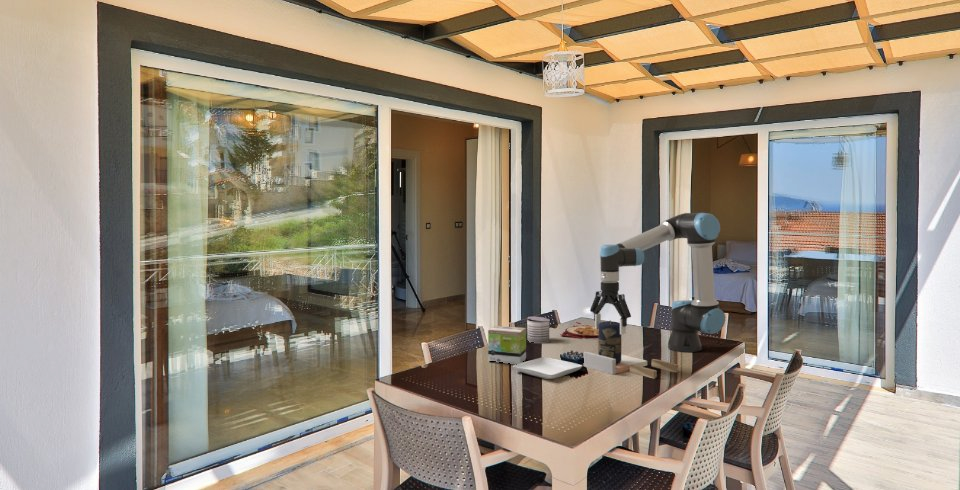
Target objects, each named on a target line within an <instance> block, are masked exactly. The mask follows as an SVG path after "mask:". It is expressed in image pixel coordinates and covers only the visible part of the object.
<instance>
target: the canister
mask: <svg viewBox="0 0 960 490" xmlns="http://www.w3.org/2000/svg"><path fill="white" fill-rule="evenodd" d="M597 340H598V342H597V343H598V344H597V345H598V348H597V349H598V350H597V351H598V353H597V354H598V355H602V356H606V357H609V358H613V359H616V364H617V363H620V362H621V354H622V335H620V322H617V321H612V320H609V321H608V320H607V321H601V322H600V323H599V338H597Z"/></svg>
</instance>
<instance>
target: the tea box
mask: <svg viewBox="0 0 960 490" xmlns="http://www.w3.org/2000/svg"><path fill="white" fill-rule="evenodd" d="M487 333H488V334H487V355H488V357H487V359H488V362H489V361H496V362H495V363H499V362H503V363H502V364H508V363H510V364H509V365H516V364H520V363H523V361H524V362H526V359H527V327H517V326H505V325H504V326H503V325H493V326H492V327H490V329H488V330H487Z"/></svg>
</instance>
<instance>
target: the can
mask: <svg viewBox="0 0 960 490" xmlns="http://www.w3.org/2000/svg"><path fill="white" fill-rule="evenodd" d="M526 322H527V323H526V324H527V326H526V341H527V340H528V341H529V343H531V342H534V343H533V344H546V343H549V342H550V318H546V317H542V316H541V317H540V316H528V317H527V319H526ZM528 341H527V342H528Z"/></svg>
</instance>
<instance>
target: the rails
mask: <svg viewBox="0 0 960 490" xmlns="http://www.w3.org/2000/svg"><path fill="white" fill-rule="evenodd" d="M651 367H653V368H656V369H661V370H664V371H669V372H673V373H678V372H679V364H677V363H673V362H669V361H665V360H660V359H657V358H656V359H655V358H652V359H651ZM656 369H652V368H648V367H646V366H643V367H641V366H637V365H633V364H631V365H630V370H629V373H632V374H635V375H638V376H643V377H646V378H650V379H653V380H656V379H657V376H658V375H657V372H658V371H657V370H656Z"/></svg>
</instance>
